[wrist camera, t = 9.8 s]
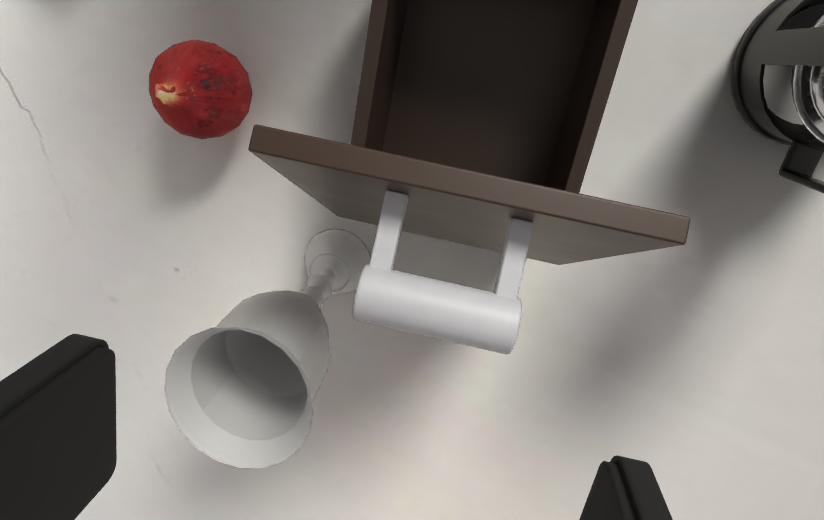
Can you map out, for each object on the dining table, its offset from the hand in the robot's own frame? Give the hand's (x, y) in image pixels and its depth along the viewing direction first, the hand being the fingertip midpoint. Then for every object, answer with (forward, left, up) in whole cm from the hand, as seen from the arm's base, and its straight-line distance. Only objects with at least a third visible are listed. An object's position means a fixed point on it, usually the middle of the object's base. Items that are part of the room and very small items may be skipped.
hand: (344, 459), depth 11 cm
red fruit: (0, -16, -30) cm, 34 cm away
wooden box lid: (-2, +1, -14) cm, 15 cm away
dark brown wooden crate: (-6, 0, -30) cm, 30 cm away
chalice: (+9, -5, -30) cm, 32 cm away
